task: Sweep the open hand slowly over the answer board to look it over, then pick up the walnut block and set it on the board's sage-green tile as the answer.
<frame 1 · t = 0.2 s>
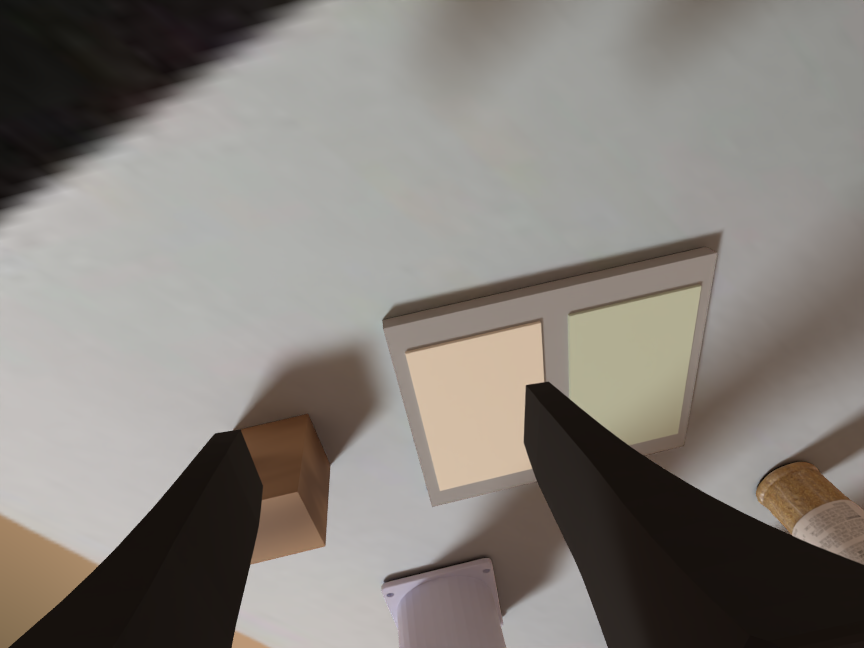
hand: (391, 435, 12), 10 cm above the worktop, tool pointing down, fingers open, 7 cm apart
walnut block: (283, 448, 24), on the worktop
sprinkles bottle: (780, 478, 33), on the worktop
answer board: (550, 386, 25), on the worktop
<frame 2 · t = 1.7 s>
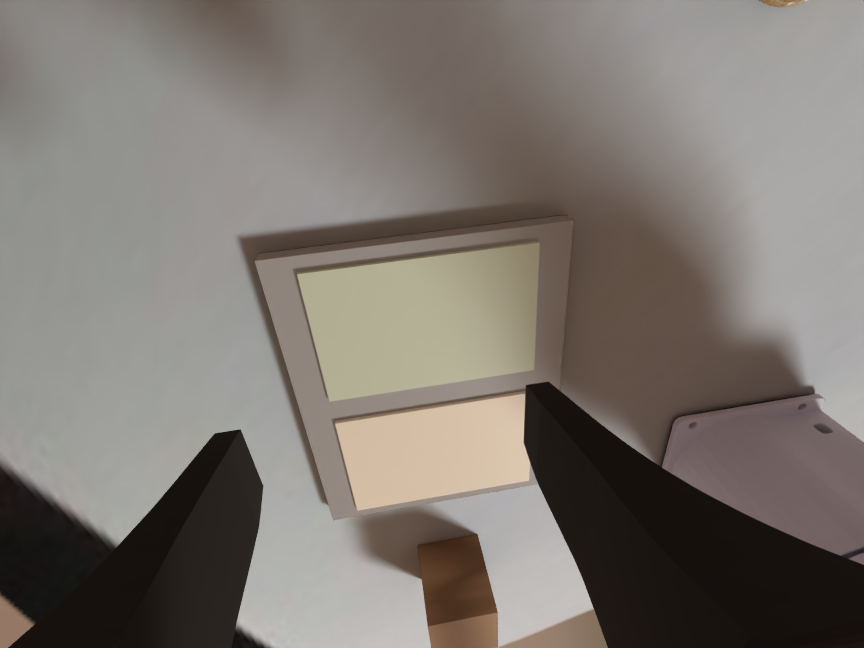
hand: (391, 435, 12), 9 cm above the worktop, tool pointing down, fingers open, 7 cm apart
walnut block: (449, 557, 31), on the worktop
answer board: (431, 384, 23), on the worktop
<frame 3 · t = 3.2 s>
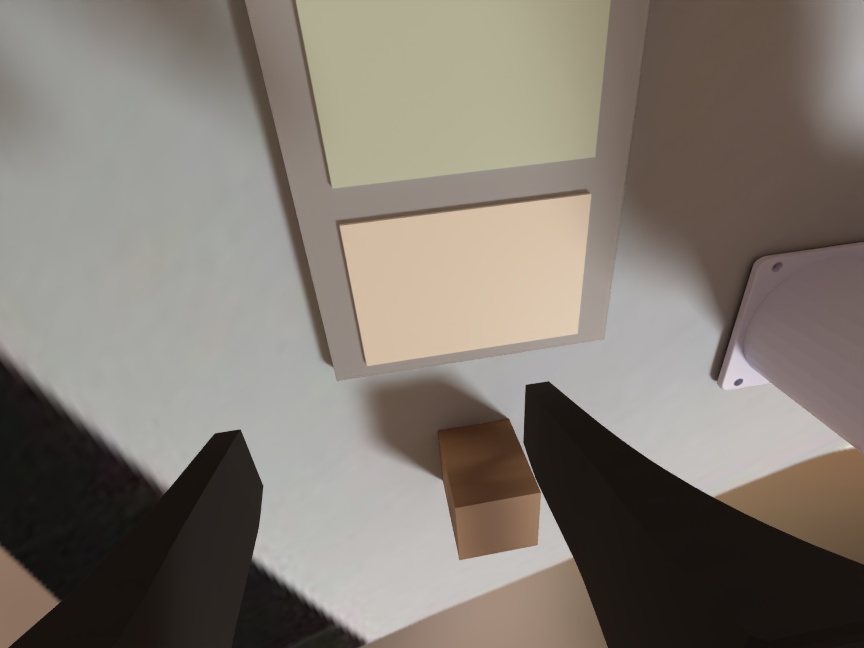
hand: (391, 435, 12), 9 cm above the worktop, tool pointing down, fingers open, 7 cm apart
walnut block: (474, 450, 26), on the worktop
answer board: (462, 185, 18), on the worktop
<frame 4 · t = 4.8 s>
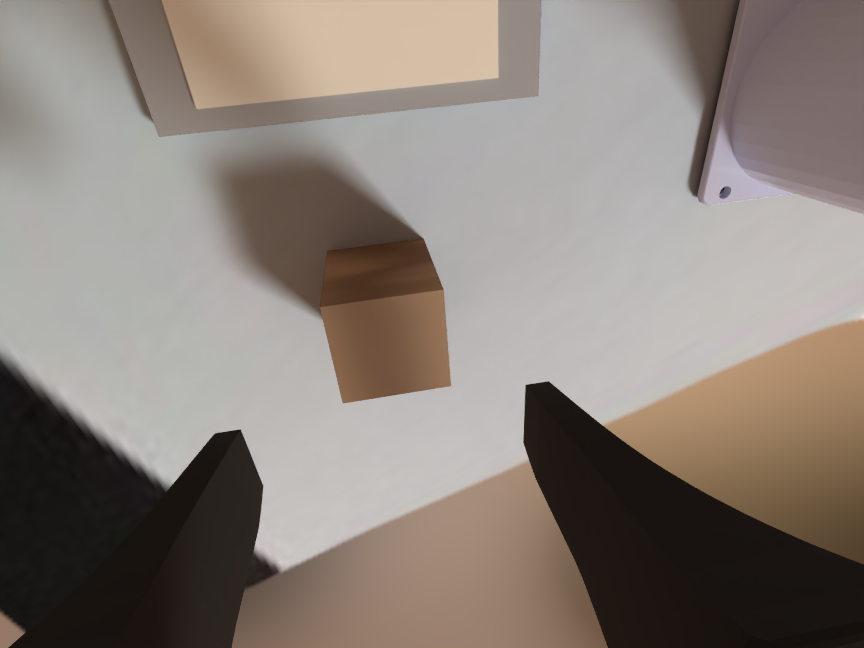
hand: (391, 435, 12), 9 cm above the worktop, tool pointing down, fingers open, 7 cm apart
walnut block: (382, 287, 20), on the worktop
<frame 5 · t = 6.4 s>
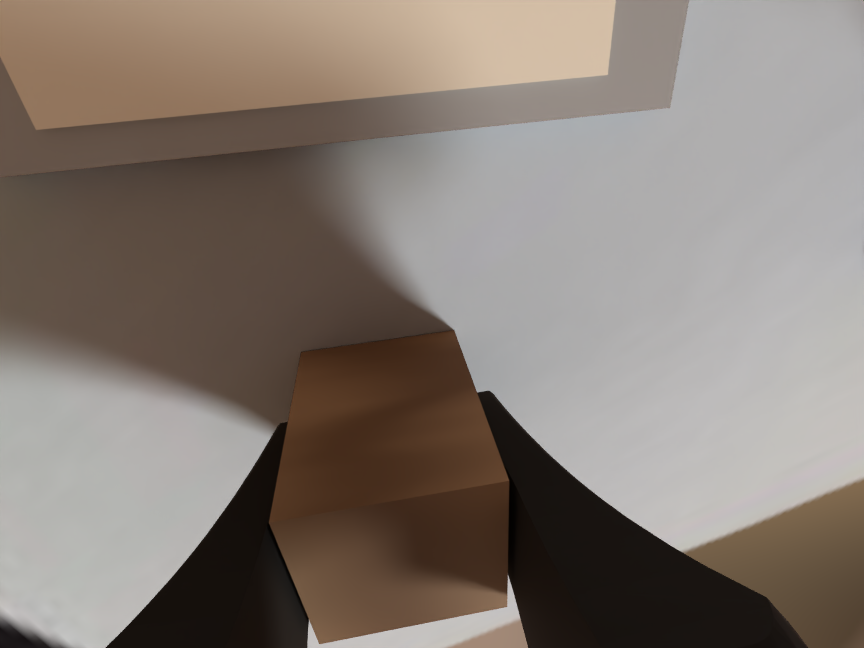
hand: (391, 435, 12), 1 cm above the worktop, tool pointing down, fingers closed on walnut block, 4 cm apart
walnut block: (388, 400, 13), on the worktop, touching gripper
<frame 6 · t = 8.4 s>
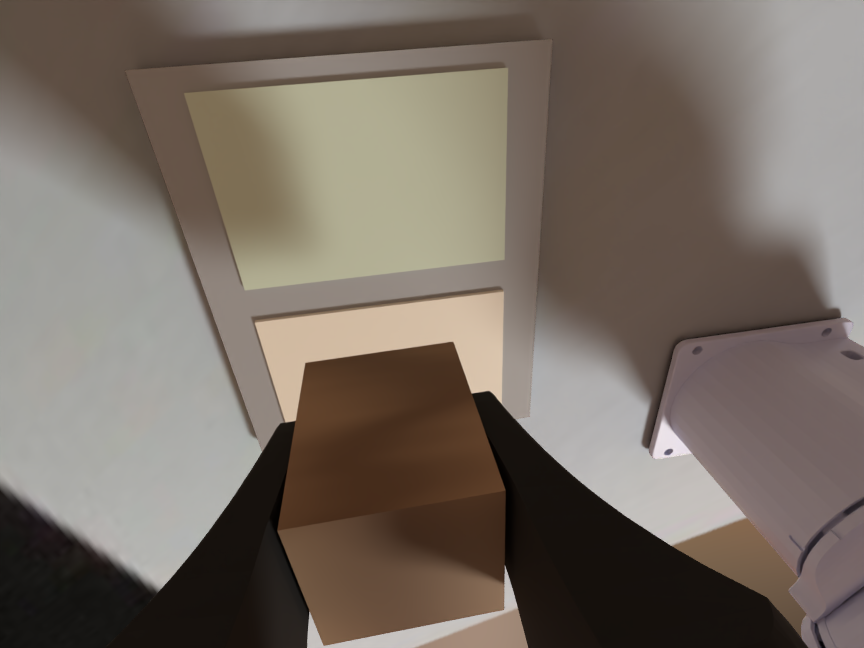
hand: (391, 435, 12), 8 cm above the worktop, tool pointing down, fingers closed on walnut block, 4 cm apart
walnut block: (389, 408, 13), point 7 cm above the worktop, touching gripper
answer board: (379, 280, 18), on the worktop
when the fingers open (3 cm above the worktop, at t = 10.6 s): walnut block stays where it is, resting on answer board.
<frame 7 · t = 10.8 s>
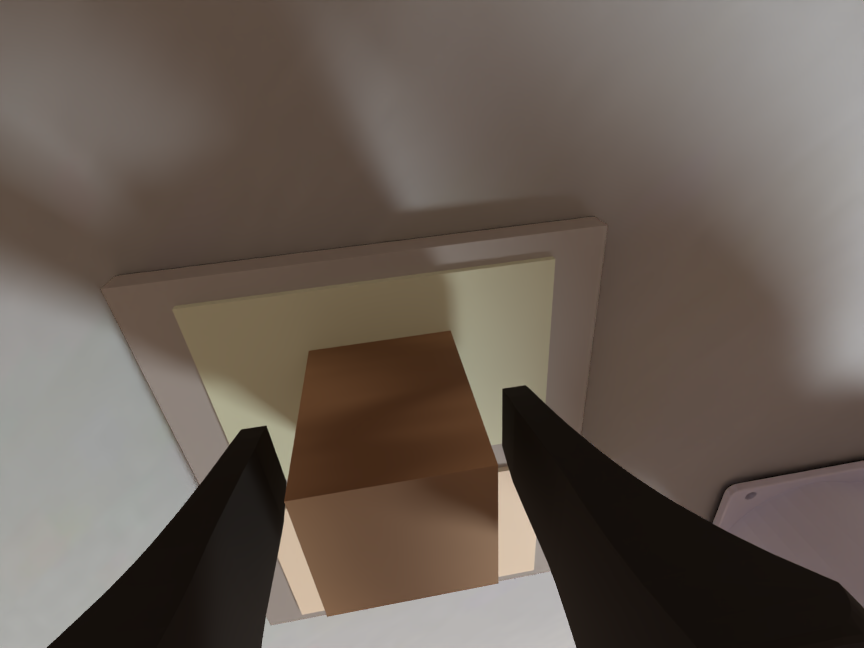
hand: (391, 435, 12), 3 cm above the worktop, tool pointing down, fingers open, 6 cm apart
walnut block: (389, 395, 14), point 1 cm above the worktop, touching answer board
answer board: (399, 453, 16), on the worktop
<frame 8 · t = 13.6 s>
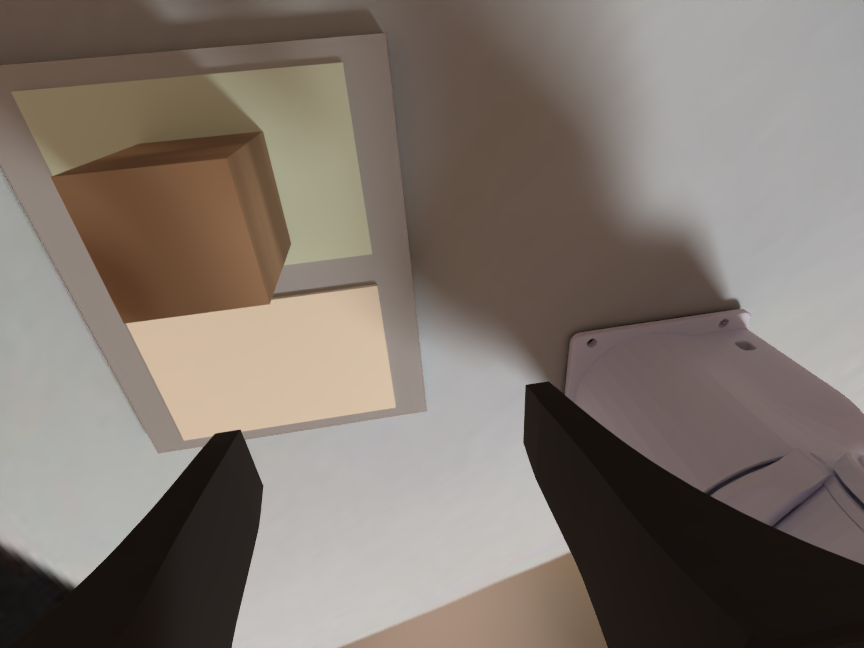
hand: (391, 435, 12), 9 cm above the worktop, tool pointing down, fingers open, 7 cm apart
walnut block: (220, 197, 16), point 1 cm above the worktop, touching answer board
answer board: (253, 276, 19), on the worktop
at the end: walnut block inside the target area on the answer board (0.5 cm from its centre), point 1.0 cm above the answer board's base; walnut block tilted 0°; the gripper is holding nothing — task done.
